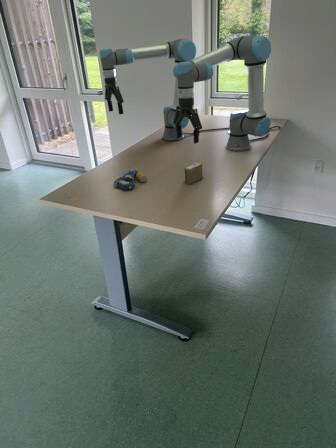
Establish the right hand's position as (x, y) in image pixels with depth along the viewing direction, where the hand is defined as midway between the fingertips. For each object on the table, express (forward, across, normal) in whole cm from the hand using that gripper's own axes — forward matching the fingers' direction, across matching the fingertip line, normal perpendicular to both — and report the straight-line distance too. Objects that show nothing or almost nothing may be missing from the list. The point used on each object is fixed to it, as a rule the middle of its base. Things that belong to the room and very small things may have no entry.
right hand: (187, 140), depth 173 cm
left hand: (-6, -66, -4) cm, 67 cm away
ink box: (+21, +5, 0) cm, 22 cm away
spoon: (+20, -48, +87) cm, 101 cm away
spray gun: (+22, -18, -26) cm, 38 cm away
